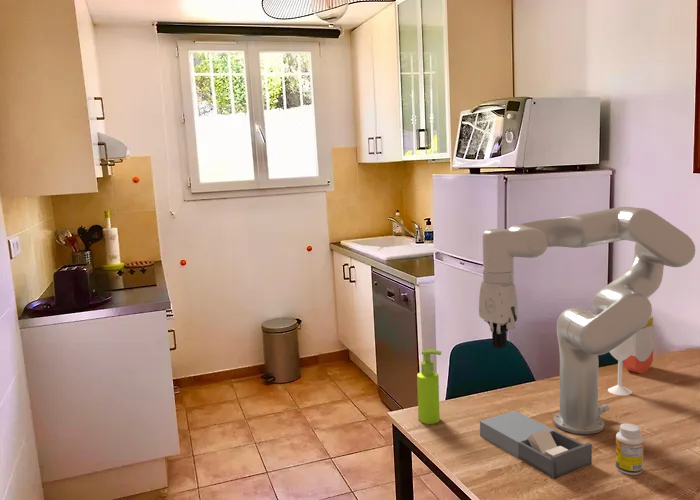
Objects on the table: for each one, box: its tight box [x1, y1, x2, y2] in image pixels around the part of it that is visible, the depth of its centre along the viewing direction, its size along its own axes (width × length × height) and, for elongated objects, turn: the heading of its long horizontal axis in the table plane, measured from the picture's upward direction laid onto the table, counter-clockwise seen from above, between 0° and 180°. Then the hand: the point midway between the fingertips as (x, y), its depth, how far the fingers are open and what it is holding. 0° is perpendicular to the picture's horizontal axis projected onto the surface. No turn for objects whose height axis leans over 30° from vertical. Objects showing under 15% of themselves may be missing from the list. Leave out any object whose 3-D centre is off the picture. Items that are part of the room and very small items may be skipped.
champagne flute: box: [607, 336, 633, 396], centre depth 172 cm, size 7×7×24 cm
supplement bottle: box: [615, 422, 644, 476], centre depth 129 cm, size 6×6×10 cm
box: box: [518, 429, 593, 480], centre depth 134 cm, size 12×11×5 cm
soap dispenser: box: [416, 349, 443, 425], centre depth 159 cm, size 6×7×20 cm
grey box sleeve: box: [479, 410, 555, 459], centre depth 146 cm, size 12×14×4 cm
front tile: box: [545, 446, 568, 458], centre depth 132 cm, size 5×5×2 cm
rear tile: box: [527, 429, 557, 454], centre depth 137 cm, size 5×5×2 cm
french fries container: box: [622, 316, 655, 374], centre depth 189 cm, size 5×11×18 cm, turn 124°
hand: (499, 347), depth 148 cm, fingers closed
